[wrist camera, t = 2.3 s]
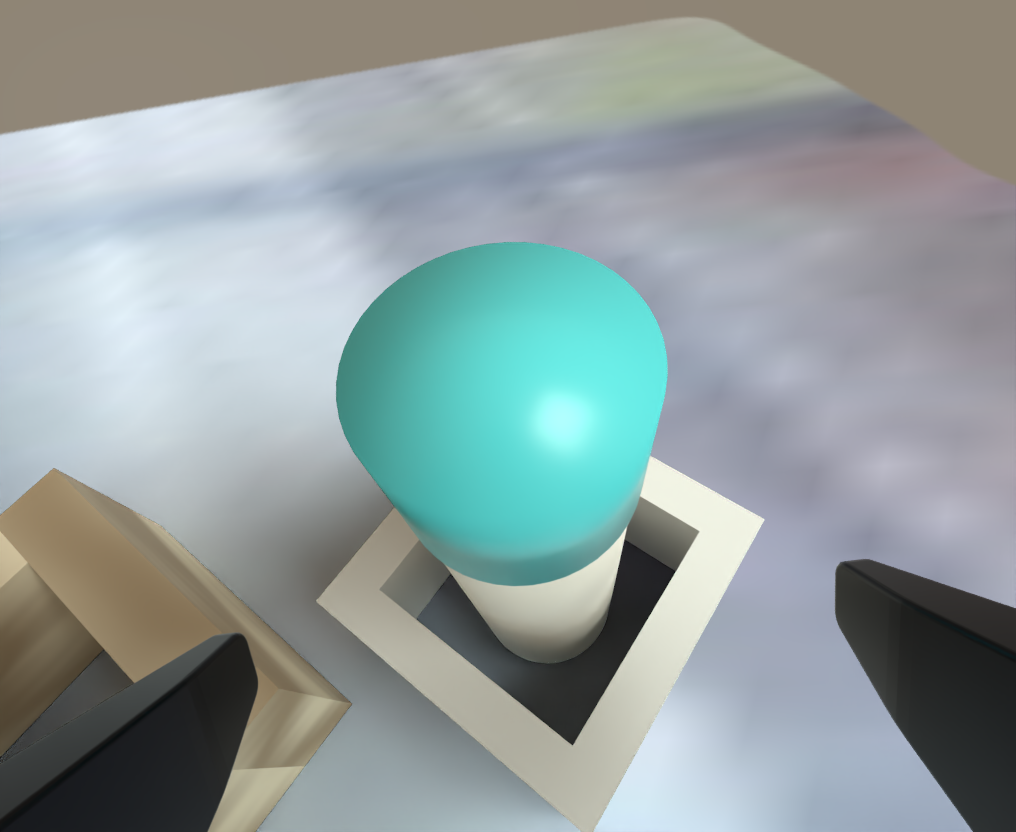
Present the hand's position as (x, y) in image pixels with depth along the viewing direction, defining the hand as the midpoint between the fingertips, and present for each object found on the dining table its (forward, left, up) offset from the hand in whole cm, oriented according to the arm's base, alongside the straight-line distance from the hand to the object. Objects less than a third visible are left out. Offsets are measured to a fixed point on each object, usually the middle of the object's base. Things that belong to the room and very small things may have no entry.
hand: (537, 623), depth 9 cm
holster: (+2, +2, -10) cm, 10 cm away
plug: (+2, +2, -10) cm, 10 cm away
